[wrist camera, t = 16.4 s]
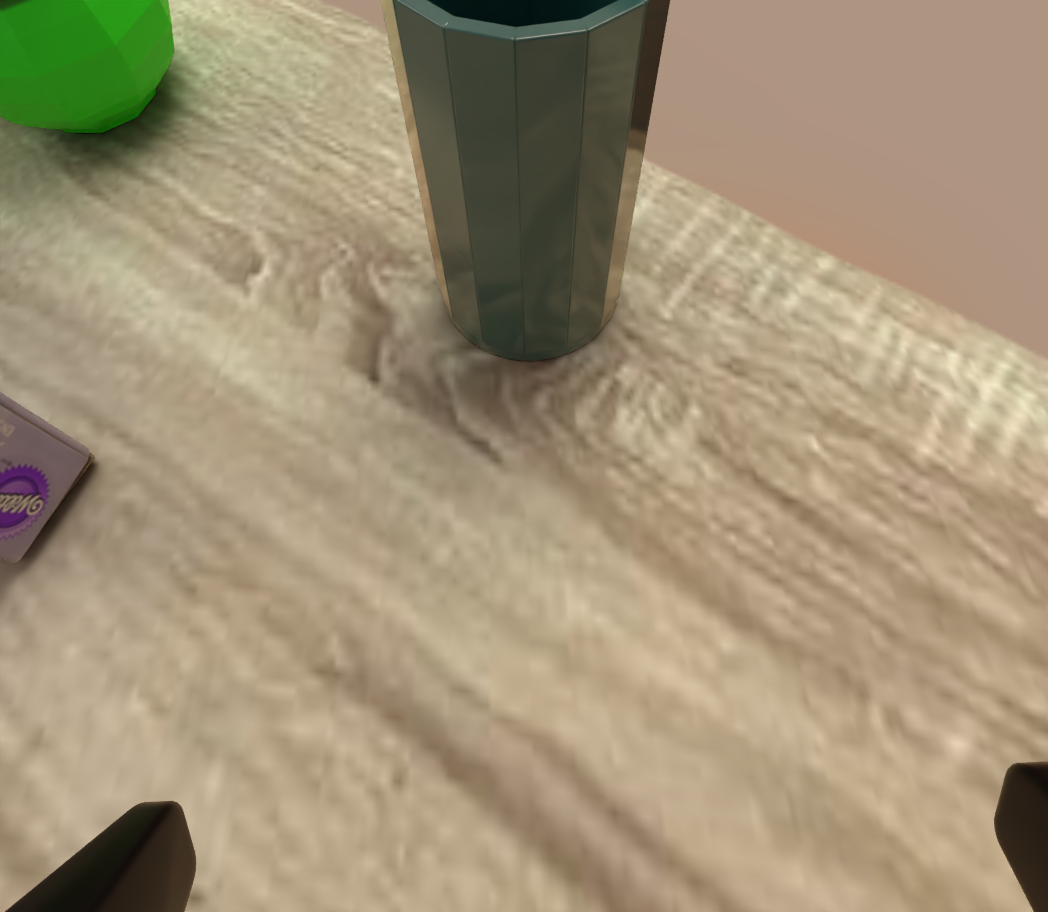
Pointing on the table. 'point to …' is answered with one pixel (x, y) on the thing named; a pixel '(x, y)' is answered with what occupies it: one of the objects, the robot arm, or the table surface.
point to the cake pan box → (32, 475)
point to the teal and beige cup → (527, 156)
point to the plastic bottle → (81, 61)
